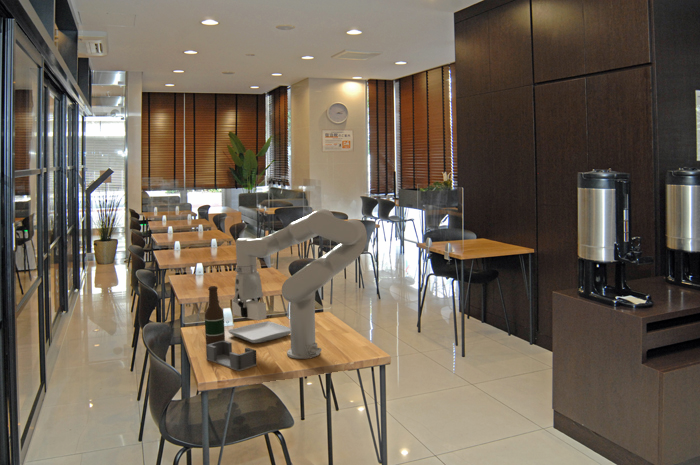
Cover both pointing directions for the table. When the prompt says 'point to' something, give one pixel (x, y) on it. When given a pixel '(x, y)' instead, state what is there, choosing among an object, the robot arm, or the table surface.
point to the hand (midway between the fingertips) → (249, 315)
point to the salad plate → (260, 332)
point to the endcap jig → (230, 356)
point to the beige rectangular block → (251, 309)
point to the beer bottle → (214, 319)
